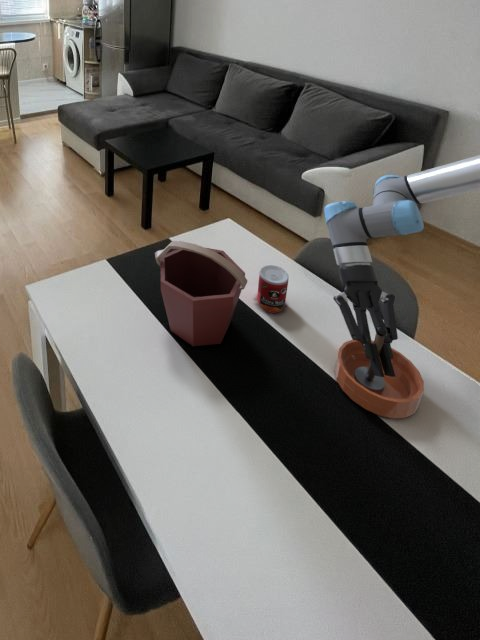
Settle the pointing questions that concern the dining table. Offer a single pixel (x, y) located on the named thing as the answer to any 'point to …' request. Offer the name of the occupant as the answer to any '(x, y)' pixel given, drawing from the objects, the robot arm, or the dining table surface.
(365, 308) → the robot arm
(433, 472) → the dining table surface
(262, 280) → the canned food
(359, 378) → the ring stacker peg
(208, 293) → the bucket
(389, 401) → the bowl
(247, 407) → the dining table surface
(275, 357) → the dining table surface
